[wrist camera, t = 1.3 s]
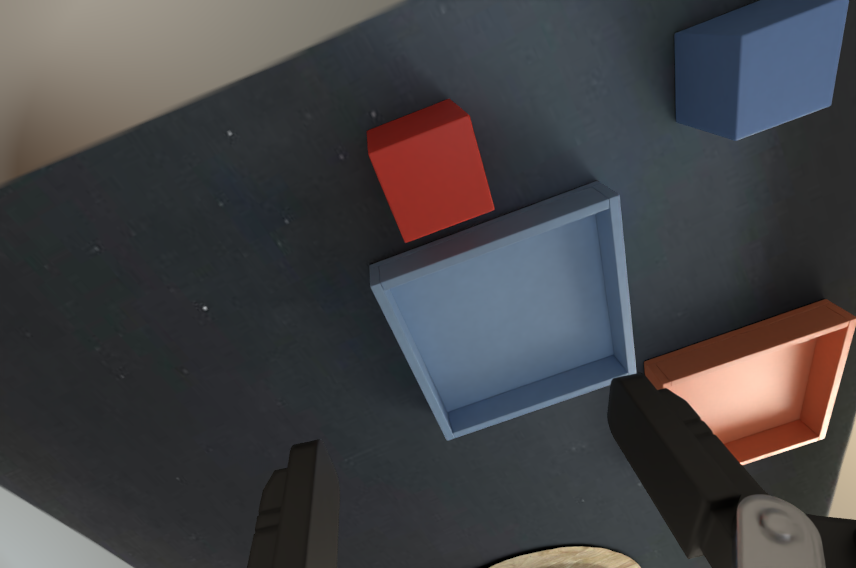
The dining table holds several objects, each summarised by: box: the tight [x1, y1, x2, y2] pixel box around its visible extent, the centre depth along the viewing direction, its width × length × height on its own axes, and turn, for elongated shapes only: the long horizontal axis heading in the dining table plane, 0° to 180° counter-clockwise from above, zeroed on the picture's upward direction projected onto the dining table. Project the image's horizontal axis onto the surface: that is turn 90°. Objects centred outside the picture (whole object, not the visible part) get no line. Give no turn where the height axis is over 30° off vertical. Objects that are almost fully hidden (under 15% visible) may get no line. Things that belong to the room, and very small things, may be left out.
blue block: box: [674, 0, 849, 141], centre depth 21 cm, size 4×4×4 cm
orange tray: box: [644, 299, 856, 465], centre depth 36 cm, size 14×14×2 cm
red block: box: [367, 99, 495, 243], centre depth 21 cm, size 4×4×4 cm
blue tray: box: [369, 181, 636, 441], centre depth 28 cm, size 14×14×2 cm
